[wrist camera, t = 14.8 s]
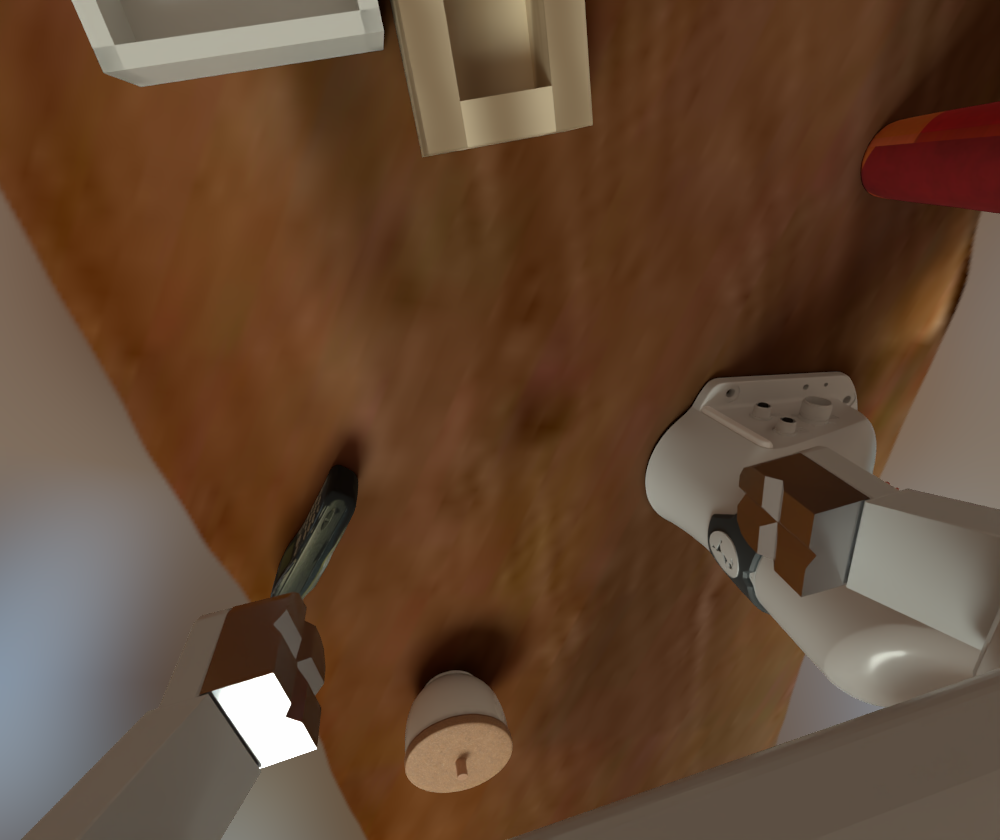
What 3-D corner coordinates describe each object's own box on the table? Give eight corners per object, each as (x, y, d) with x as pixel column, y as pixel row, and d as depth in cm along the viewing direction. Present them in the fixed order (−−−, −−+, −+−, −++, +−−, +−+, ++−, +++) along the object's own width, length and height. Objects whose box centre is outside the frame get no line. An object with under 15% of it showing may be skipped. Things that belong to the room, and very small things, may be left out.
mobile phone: (325, 489, 37) (251, 636, 41) (363, 501, 38) (288, 644, 42) (330, 457, 42) (263, 593, 46) (364, 470, 43) (296, 601, 47)
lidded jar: (465, 639, 54) (481, 724, 45) (513, 688, 59) (536, 772, 50) (381, 690, 54) (382, 782, 46) (436, 734, 59) (445, 824, 51)
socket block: (548, -60, 30) (578, -100, 26) (565, 131, 35) (592, 124, 30) (382, -38, 29) (382, -76, 24) (422, 157, 33) (429, 154, 29)
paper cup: (896, 223, 43) (1102, 242, 31) (831, 193, 41) (1027, 201, 28) (952, 123, 40) (1204, 100, 28) (886, 85, 38) (1130, 41, 26)
